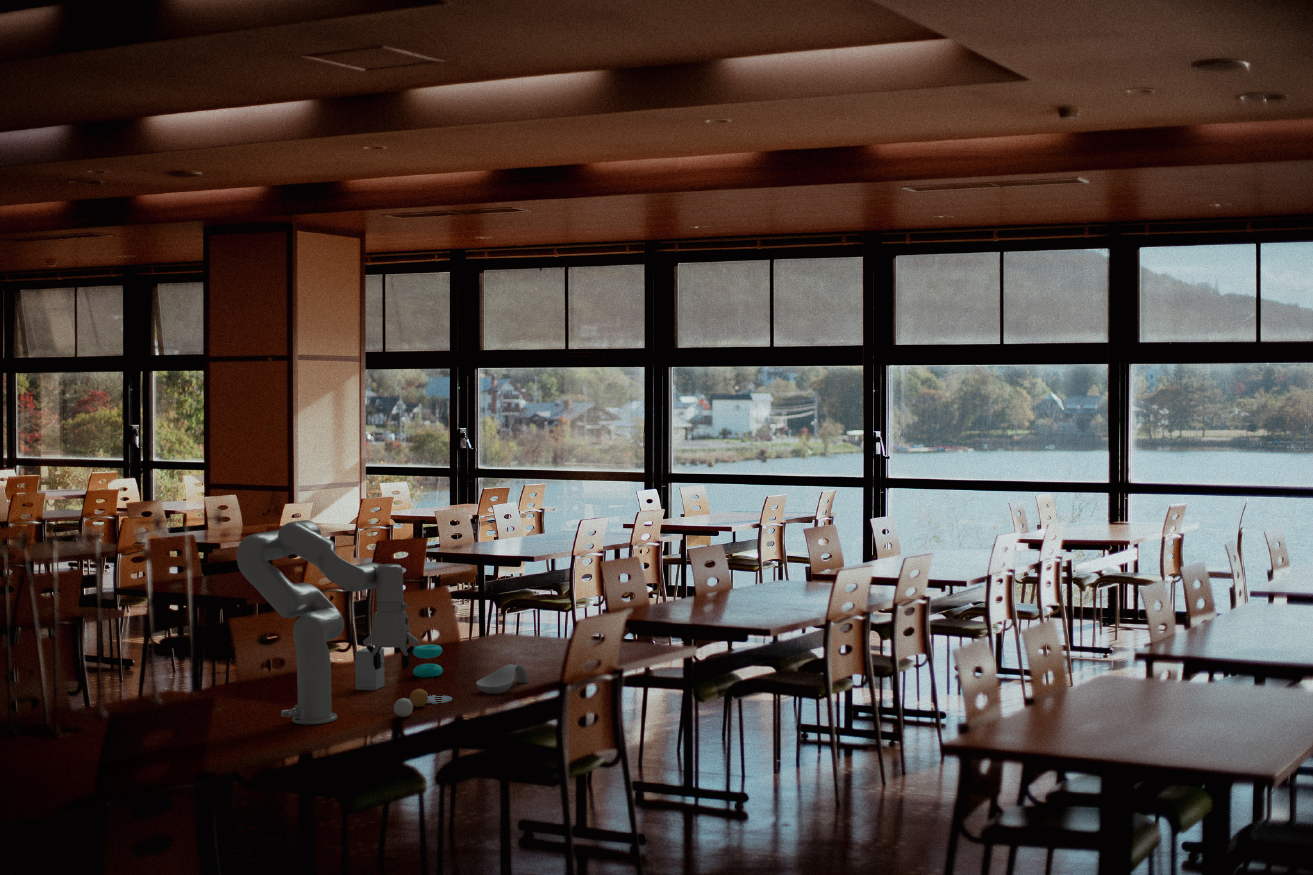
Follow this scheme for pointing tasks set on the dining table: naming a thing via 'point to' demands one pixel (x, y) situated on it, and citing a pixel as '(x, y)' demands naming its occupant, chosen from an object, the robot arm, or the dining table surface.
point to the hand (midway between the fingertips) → (391, 668)
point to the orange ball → (419, 697)
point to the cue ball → (403, 707)
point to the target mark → (433, 701)
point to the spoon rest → (502, 679)
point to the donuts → (427, 669)
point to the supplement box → (368, 671)
